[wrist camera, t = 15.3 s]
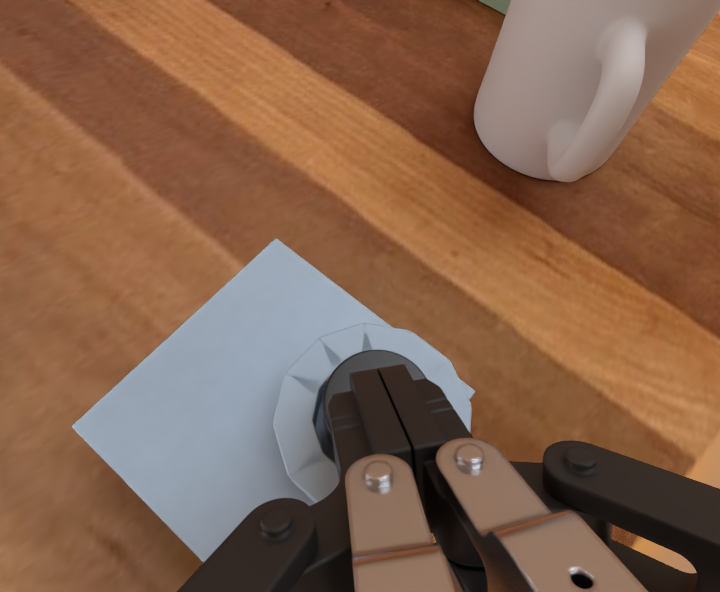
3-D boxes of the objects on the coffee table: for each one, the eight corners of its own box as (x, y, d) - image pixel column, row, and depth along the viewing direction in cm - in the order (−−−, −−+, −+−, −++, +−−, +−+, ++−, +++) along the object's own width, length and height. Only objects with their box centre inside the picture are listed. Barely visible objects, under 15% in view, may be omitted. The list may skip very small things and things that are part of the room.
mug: (479, 64, 31) (549, -152, 21) (611, 90, 31) (745, -118, 21) (457, 215, 26) (535, 23, 16) (615, 248, 26) (796, 72, 16)
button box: (467, 426, 21) (514, 392, 16) (314, 643, 17) (307, 696, 12) (284, 281, 24) (270, 209, 18) (117, 444, 20) (38, 414, 15)
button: (442, 411, 16) (457, 395, 14) (381, 492, 15) (388, 488, 13) (365, 350, 16) (370, 328, 15) (302, 423, 15) (298, 409, 13)
